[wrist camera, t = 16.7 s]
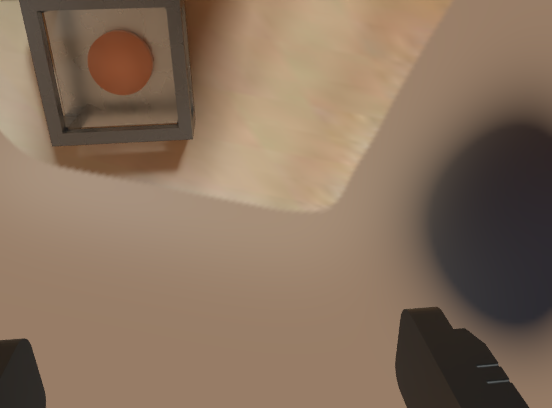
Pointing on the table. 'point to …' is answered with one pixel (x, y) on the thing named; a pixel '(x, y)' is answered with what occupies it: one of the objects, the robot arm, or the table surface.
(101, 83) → the button
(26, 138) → the table surface
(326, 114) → the table surface
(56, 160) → the table surface
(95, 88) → the guard frame
